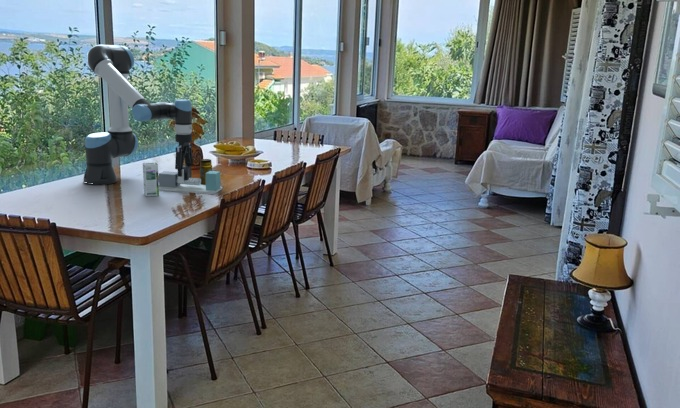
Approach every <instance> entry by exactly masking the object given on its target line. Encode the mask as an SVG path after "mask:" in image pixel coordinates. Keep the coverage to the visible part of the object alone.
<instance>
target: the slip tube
mask: <svg viewBox="0 0 680 408" xmlns="http://www.w3.org/2000/svg"><path fill="white" fill-rule="evenodd" d="M183 169H184V183H178V177H176V184H185V185H198V186H200V185H201V179H200V177H199V178H198V177H192V166H189V165H185V164H183ZM158 179H159V174H158Z"/></svg>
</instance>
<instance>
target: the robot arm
mask: <svg viewBox="0 0 680 408" xmlns="http://www.w3.org/2000/svg"><path fill="white" fill-rule="evenodd" d="M86 60H87V65H88V67H89V69H90V70H91V71H92V72H93V73H94V74H95V76H97V77H101V79H102V80H103V81H104V82H105V83H106V84H107V87H108V104H109V116H110V117H109V119H110V120H109V121H110V126H109V128H108V129H107V132H105V131H103V132H102V131H101V132H94V133H90V134H88V135H87V136H86V137H85V139H84V148H85V161H86V162H85V163H86V164H85V165H86V167H85V171H84V175H83V177H82V178H83V179H82V180H83V183H84V182H87V183H93V184H105V185H111V184H114V183H117V182H118V176H117V174H116V171H115V169H114V167H113V159H117V158H123V157H124V158H125V157H128V156H133V155H134V154H135V153H136V152H137V150H138V148H139V140H138V139H139V138H138V137H137V135H136V134H135V133H134V132H133V129H132V127H130V122H129V121H130V120H129V119H130V118H129V108H130V109H131V115H132V117H133V119H134V120H136V122H149V121H157V120H159V121H160V120H174V132H175V134H174V135H175V136H174V137H175V142H176V143H178V146H176V147H175V162H174V169H175V170H177V172H178V183H184V169H183V165H184V164H186V165H189V166H191V167H192V166H194V157H193V144H192V143H191V142H193V134H192V132H193V128H194V127H193V123H192V118H193V117H192V113H193V112H192V111H193V110H192V102H191V100H189V99H178V98H177V99H175V100H174V102H165V101H158V102H156V103H153V102H152V103H150V102H149V101H148V100H147V99H146V98H145V97H144V96H143V95H142V94H141V93H140V92H139V91H138V89H136V88H135V87H134V86H133V85H132V83H130V82H129V80H128V79H127V78H128V76H129V75H130V70H131V69H133V67H134V65H135V57H134V54H133V52H132V51H131V50H130V49H129V48H128V47H126V45H125V46H124V45H120V44H116V45H115V44H96V45H94V46H92V47H90V49H89V50H88V52H87V55H86ZM184 162H185V163H184Z"/></svg>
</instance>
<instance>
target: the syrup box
mask: <svg viewBox="0 0 680 408" xmlns="http://www.w3.org/2000/svg"><path fill="white" fill-rule="evenodd" d="M158 175H159V164H158V162H143V163H142V178H143V192H144V193H143V194H144V195H145V197H159V196H160V190H159V179H158Z"/></svg>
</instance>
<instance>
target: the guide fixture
mask: <svg viewBox="0 0 680 408" xmlns="http://www.w3.org/2000/svg"><path fill="white" fill-rule="evenodd" d="M158 175H159V191H166V192H167V191H168V192H179V193H180V192H181V193H191V194H194V193H195V194H203V195H204V194H205V195H215V194H217V193H218V192H220V191H221V190H223V186H221V171H216V170H212V171H209V172H207V173H206V185H200V186H198V185H185V184H176V177H178V171H167V170H166V171H165V170H164V171H161V172H158Z"/></svg>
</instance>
